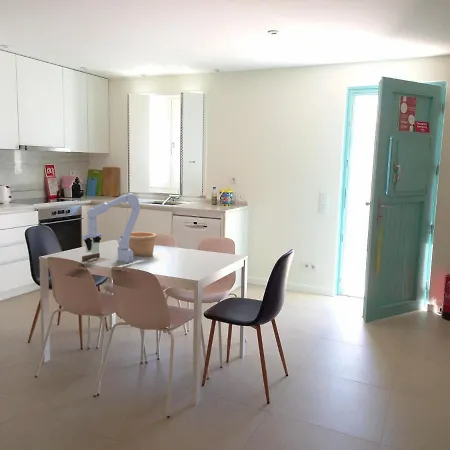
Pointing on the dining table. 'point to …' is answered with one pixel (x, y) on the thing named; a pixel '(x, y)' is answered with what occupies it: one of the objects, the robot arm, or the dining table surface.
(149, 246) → the pottery
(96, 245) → the sage block
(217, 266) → the dining table surface
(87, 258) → the cleat board
